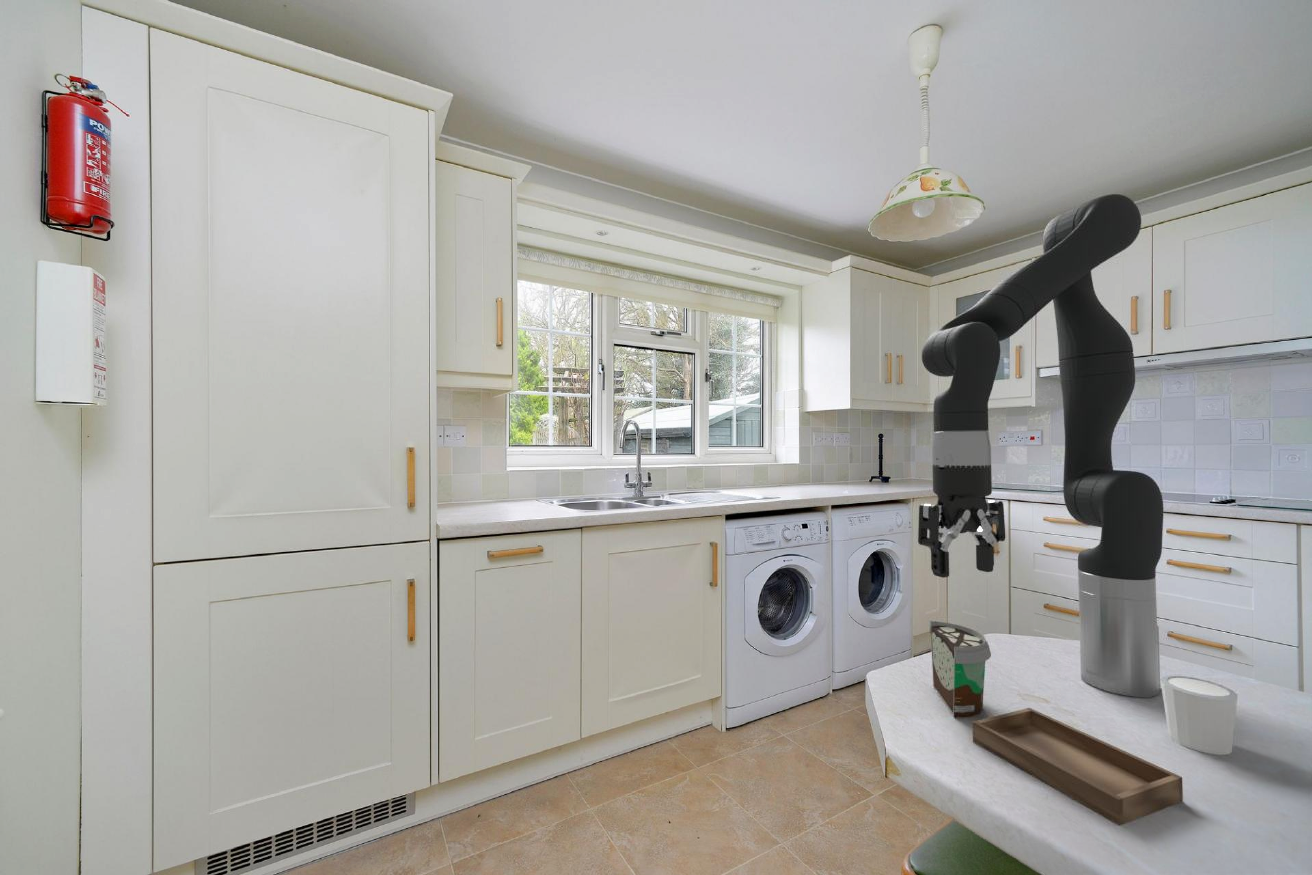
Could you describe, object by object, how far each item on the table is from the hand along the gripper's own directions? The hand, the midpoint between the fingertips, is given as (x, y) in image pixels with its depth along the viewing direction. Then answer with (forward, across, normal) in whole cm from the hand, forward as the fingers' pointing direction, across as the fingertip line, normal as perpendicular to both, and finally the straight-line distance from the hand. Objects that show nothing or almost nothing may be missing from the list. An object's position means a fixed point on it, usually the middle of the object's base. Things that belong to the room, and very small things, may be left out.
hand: (963, 573), depth 79 cm
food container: (+19, 0, 0) cm, 19 cm away
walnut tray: (+19, +3, +16) cm, 25 cm away
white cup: (+19, -18, +18) cm, 32 cm away
